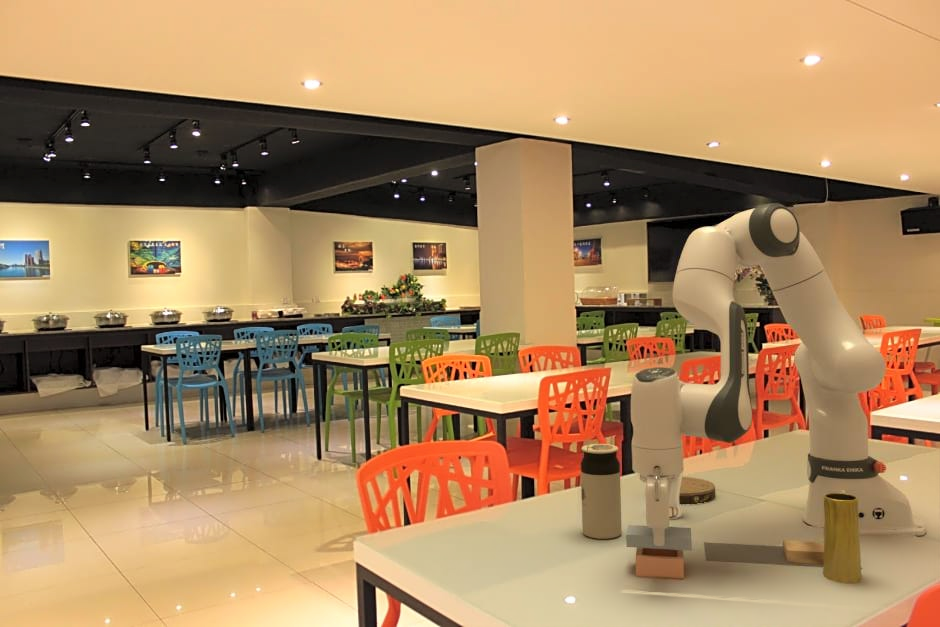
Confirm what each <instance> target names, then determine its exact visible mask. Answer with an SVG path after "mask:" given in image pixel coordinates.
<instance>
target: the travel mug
mask: <svg viewBox="0 0 940 627" xmlns="http://www.w3.org/2000/svg"><path fill="white" fill-rule="evenodd" d="M581 451H582V453H583V454H582V455H583V458H582V460H581V461H580V484H581V485H580V487H581V491H580V492H581V518H582V519H581V522H582V524H581V525H582V534H583V535H584V536H587V537H588V538H591V539H595V538H596V540H611V539H615V538H617V537H620V536H621V535H622V528H623V527H622V498H621V496H622V495H621V494H622V493H621V489H622V488H621V463H620V461H619V460H618V458H617V453H618V451H619V447H618V446H617V445H614V444H608V443H592V444H591V443H590V444H586V445H583V446H581Z"/></svg>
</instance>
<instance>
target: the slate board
mask: <svg viewBox="0 0 940 627" xmlns="http://www.w3.org/2000/svg"><path fill="white" fill-rule="evenodd" d="M625 538H626V539H625V540H626V548H635V549H637V548H654V549H672V550H683V551H692V550H693V549H692V548H693V547H692V543H693V542H692V528H691V527H681V526H679V527H677V526H669V527H668V528H666V529H665V534H664V540H665V544H664V546H656V545H654V535H653V529H652V528H649V527H648V526H647V525H639V524H638V525H636V524H627V529H626V534H625Z"/></svg>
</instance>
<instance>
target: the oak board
mask: <svg viewBox="0 0 940 627" xmlns="http://www.w3.org/2000/svg"><path fill="white" fill-rule="evenodd" d="M782 546H783V553H784V556H785V558H786V560H787V562H788V563H806V564H823V558H824V541H823V542H822V541H806V540H805V541H801V540H782Z"/></svg>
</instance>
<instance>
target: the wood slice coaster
mask: <svg viewBox="0 0 940 627" xmlns="http://www.w3.org/2000/svg"><path fill="white" fill-rule="evenodd" d="M714 498H716V485H715V484H714V483H713V482H712V481H709V480H707V479H703V478H697V477H691V476H682V483H681V489H680V499H679V500H680V504H681V505H680V506H683V505H682V504H695V505H698V504H697V503H703V504H705V503H704V502H708V503H710V502H709V501H711V500H713V499H714ZM714 500H715V499H714ZM714 500H713V501H714ZM711 502H712V501H711Z"/></svg>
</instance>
